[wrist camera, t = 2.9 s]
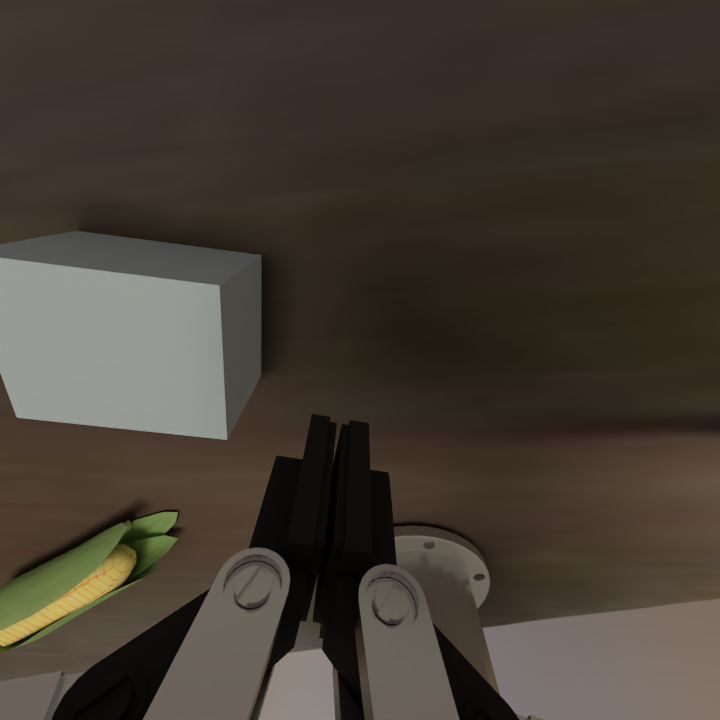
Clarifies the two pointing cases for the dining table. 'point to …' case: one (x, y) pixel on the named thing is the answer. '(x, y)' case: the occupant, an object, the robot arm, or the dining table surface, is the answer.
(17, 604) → the edible corn
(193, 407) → the block
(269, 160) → the dining table surface
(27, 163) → the dining table surface
